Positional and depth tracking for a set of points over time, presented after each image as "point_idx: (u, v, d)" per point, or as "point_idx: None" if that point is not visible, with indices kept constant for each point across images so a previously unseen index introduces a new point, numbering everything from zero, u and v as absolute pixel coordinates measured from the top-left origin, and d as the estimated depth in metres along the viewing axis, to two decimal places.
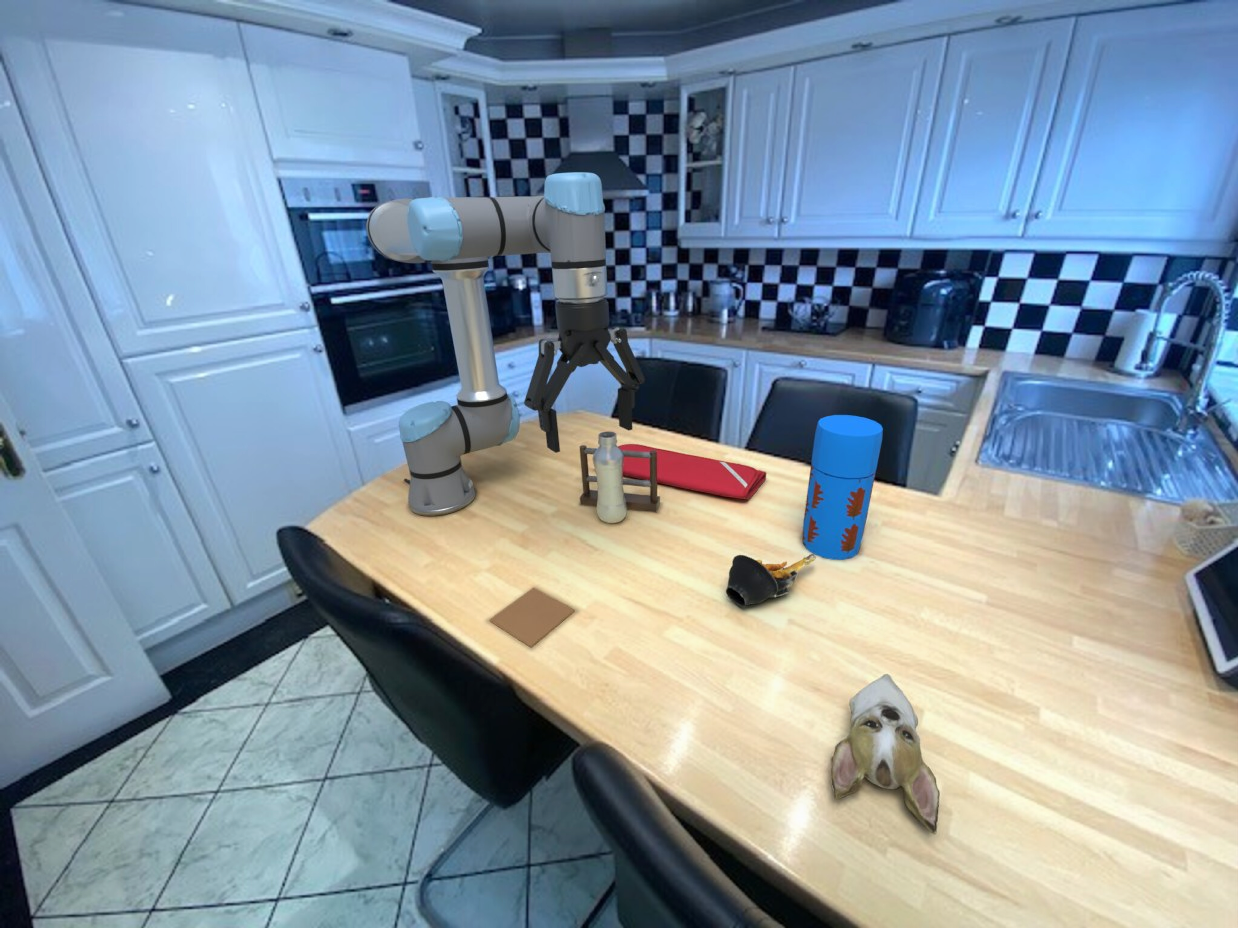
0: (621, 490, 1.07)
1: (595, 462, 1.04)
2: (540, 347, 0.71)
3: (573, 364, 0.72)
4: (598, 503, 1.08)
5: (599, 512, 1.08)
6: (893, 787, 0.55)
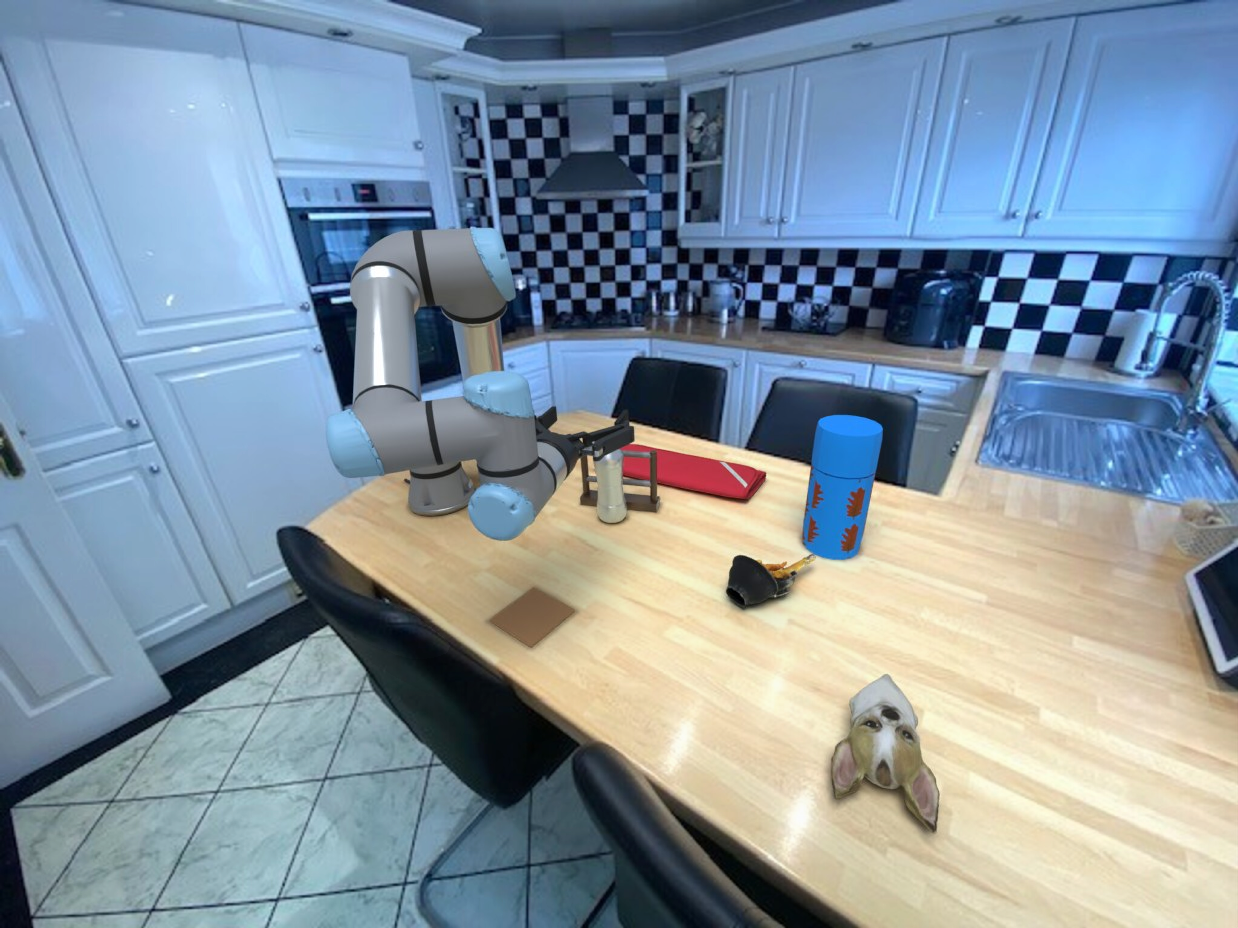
0: (621, 490, 1.07)
1: (595, 462, 1.04)
2: None
3: None
4: (598, 503, 1.08)
5: (599, 512, 1.08)
6: (893, 787, 0.55)
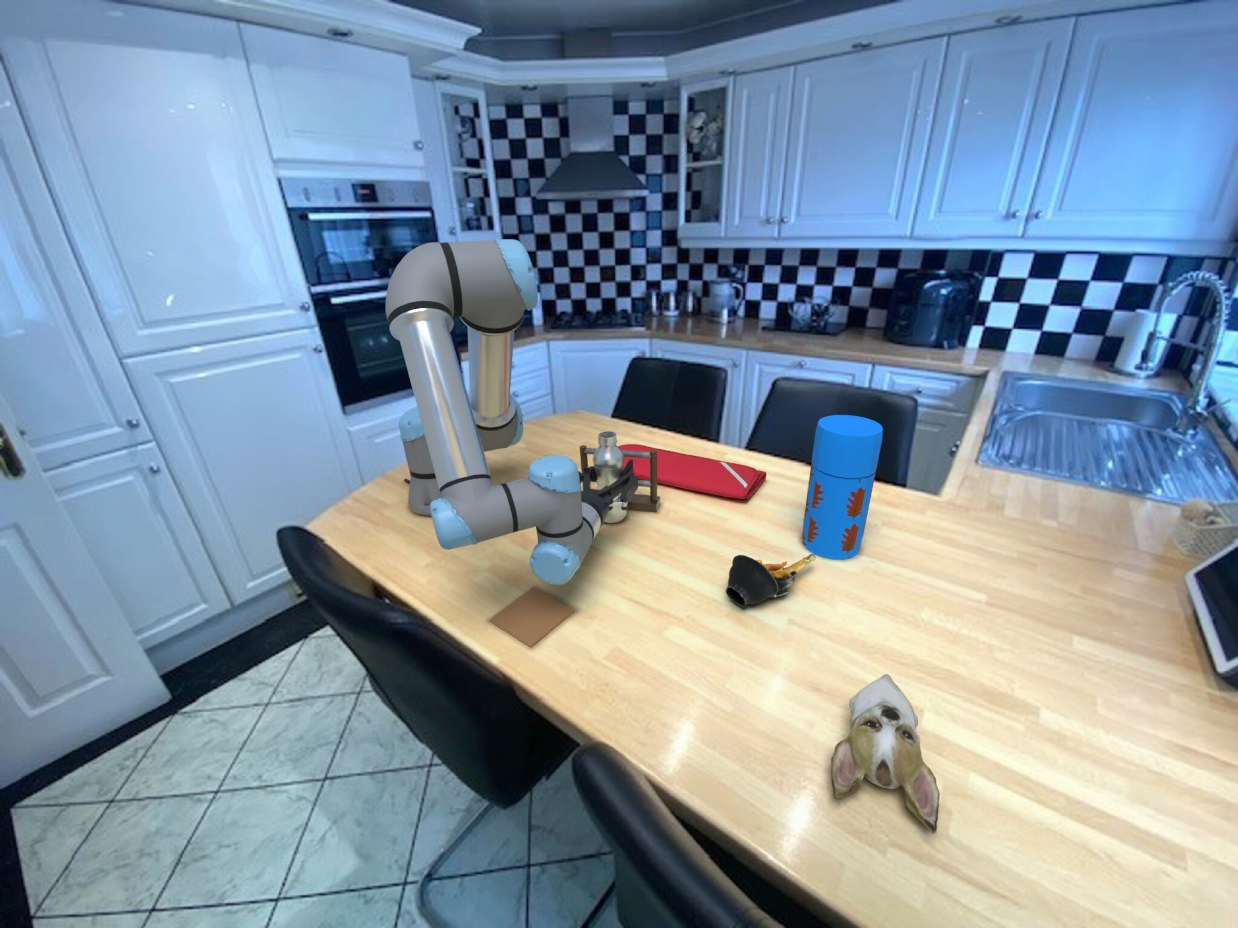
0: None
1: (595, 462, 1.04)
2: None
3: None
4: None
5: None
6: (893, 787, 0.55)
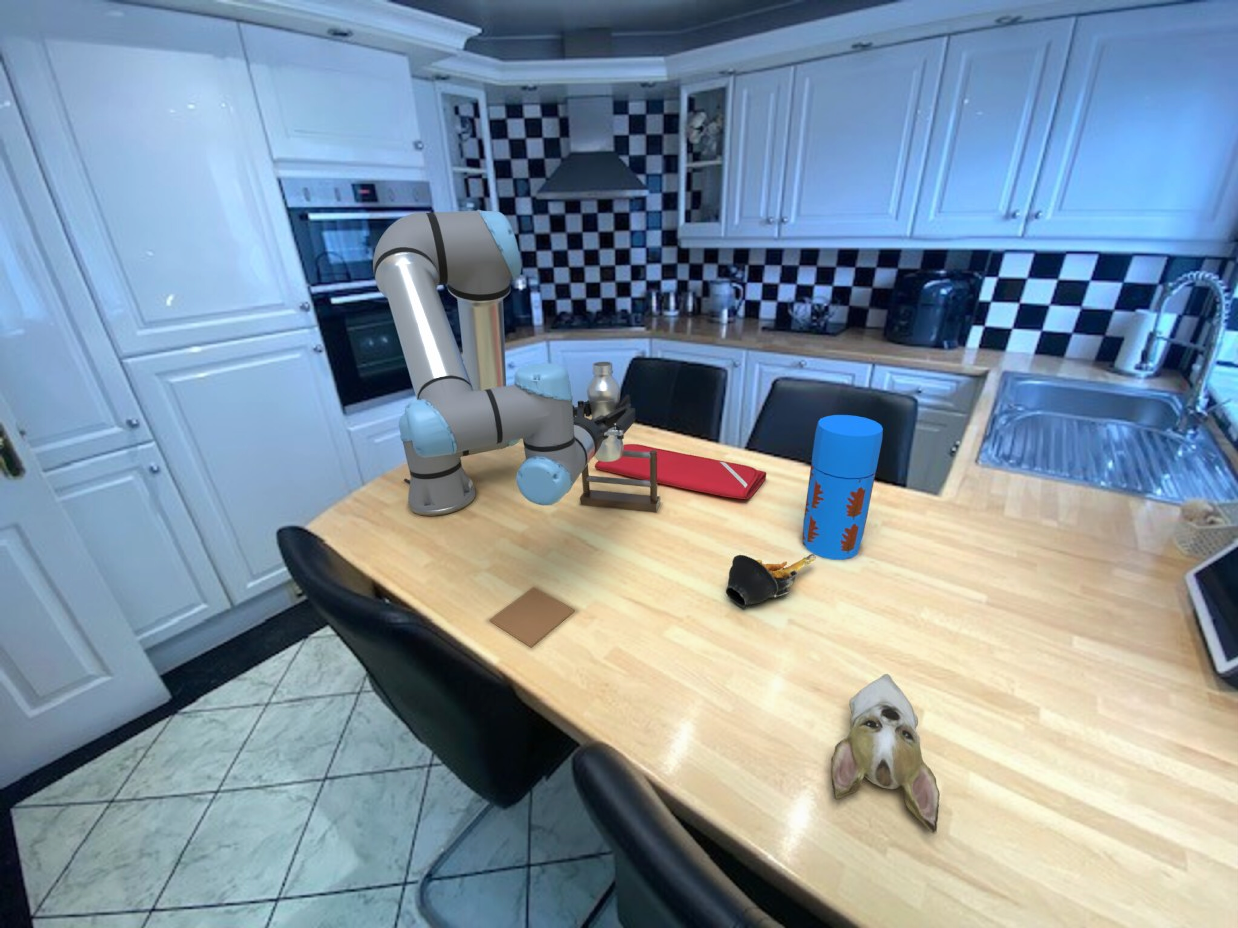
0: None
1: (589, 394, 0.97)
2: None
3: None
4: None
5: None
6: (893, 787, 0.55)
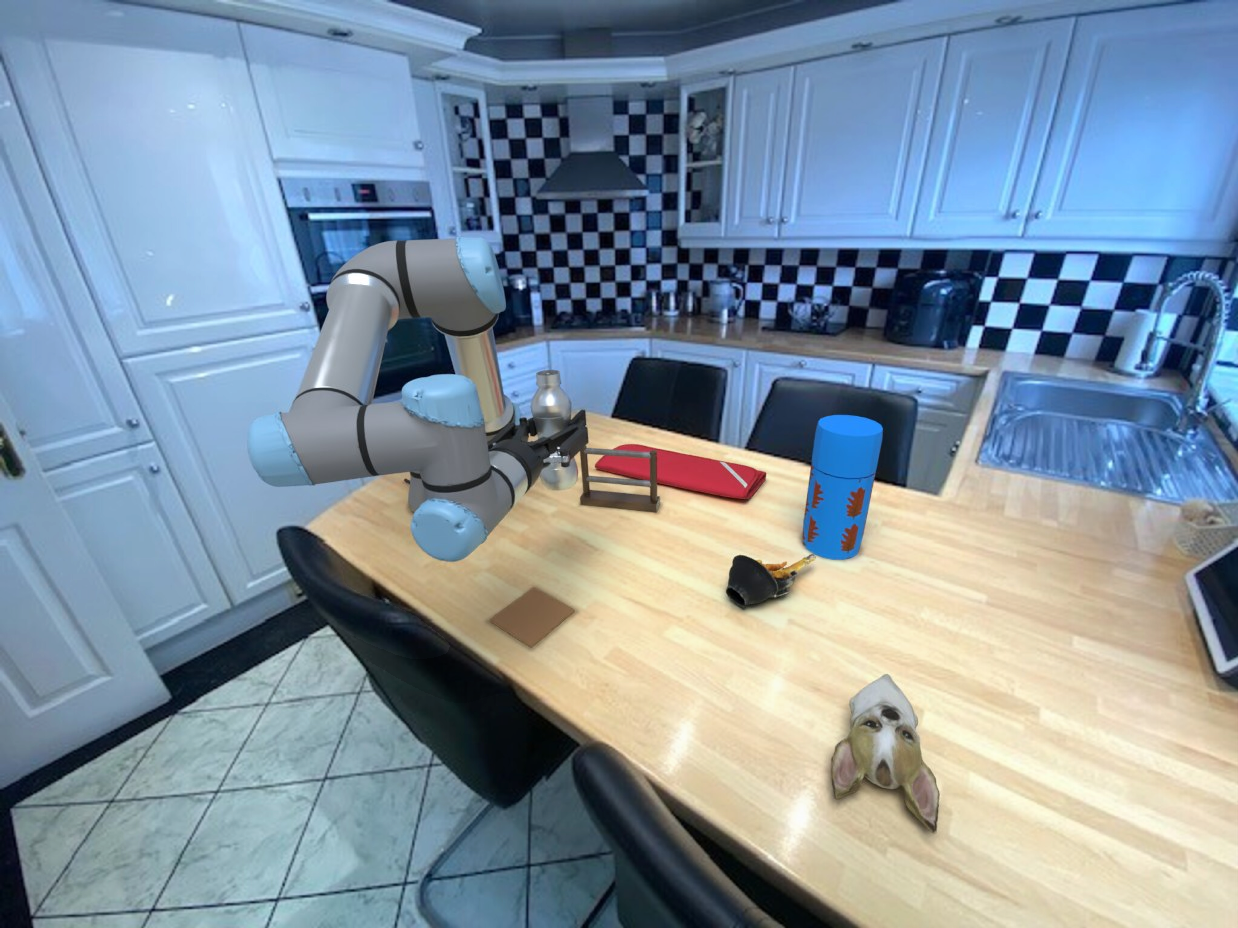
0: None
1: (532, 409, 0.79)
2: None
3: None
4: None
5: (541, 477, 0.84)
6: (893, 787, 0.55)
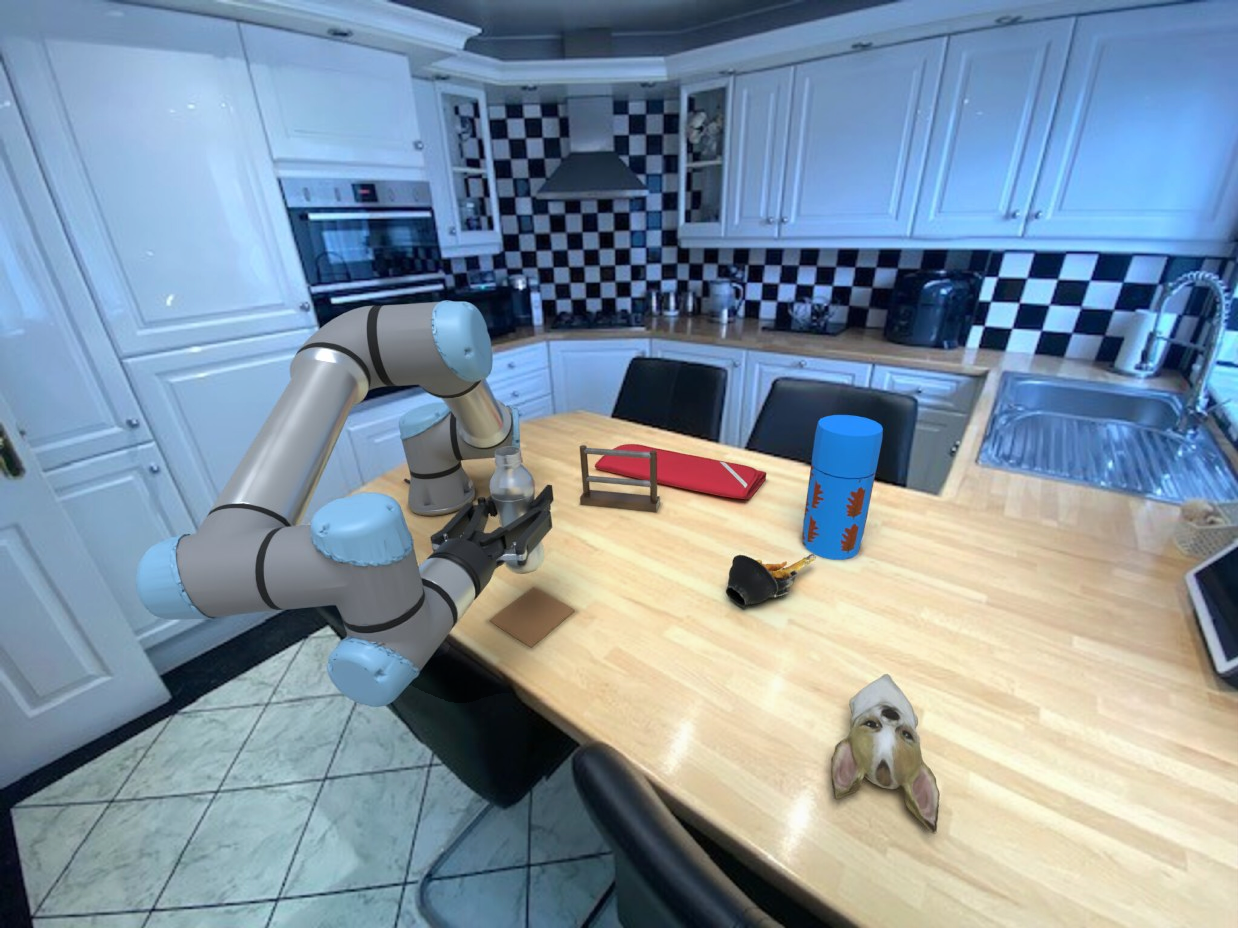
0: None
1: (491, 490, 0.72)
2: None
3: None
4: None
5: None
6: (893, 787, 0.55)
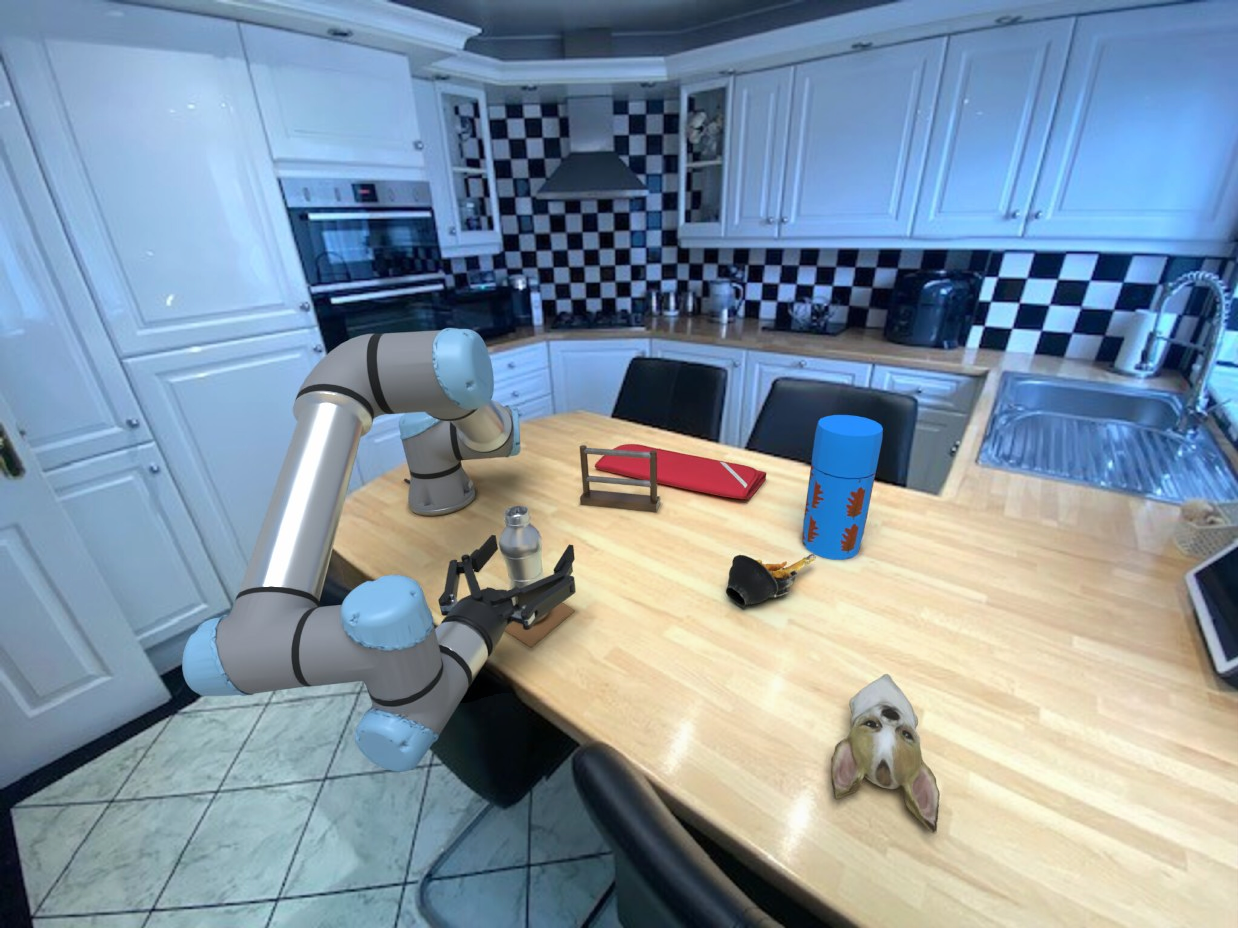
0: None
1: (501, 548, 0.76)
2: (440, 598, 0.70)
3: None
4: None
5: None
6: (893, 787, 0.55)
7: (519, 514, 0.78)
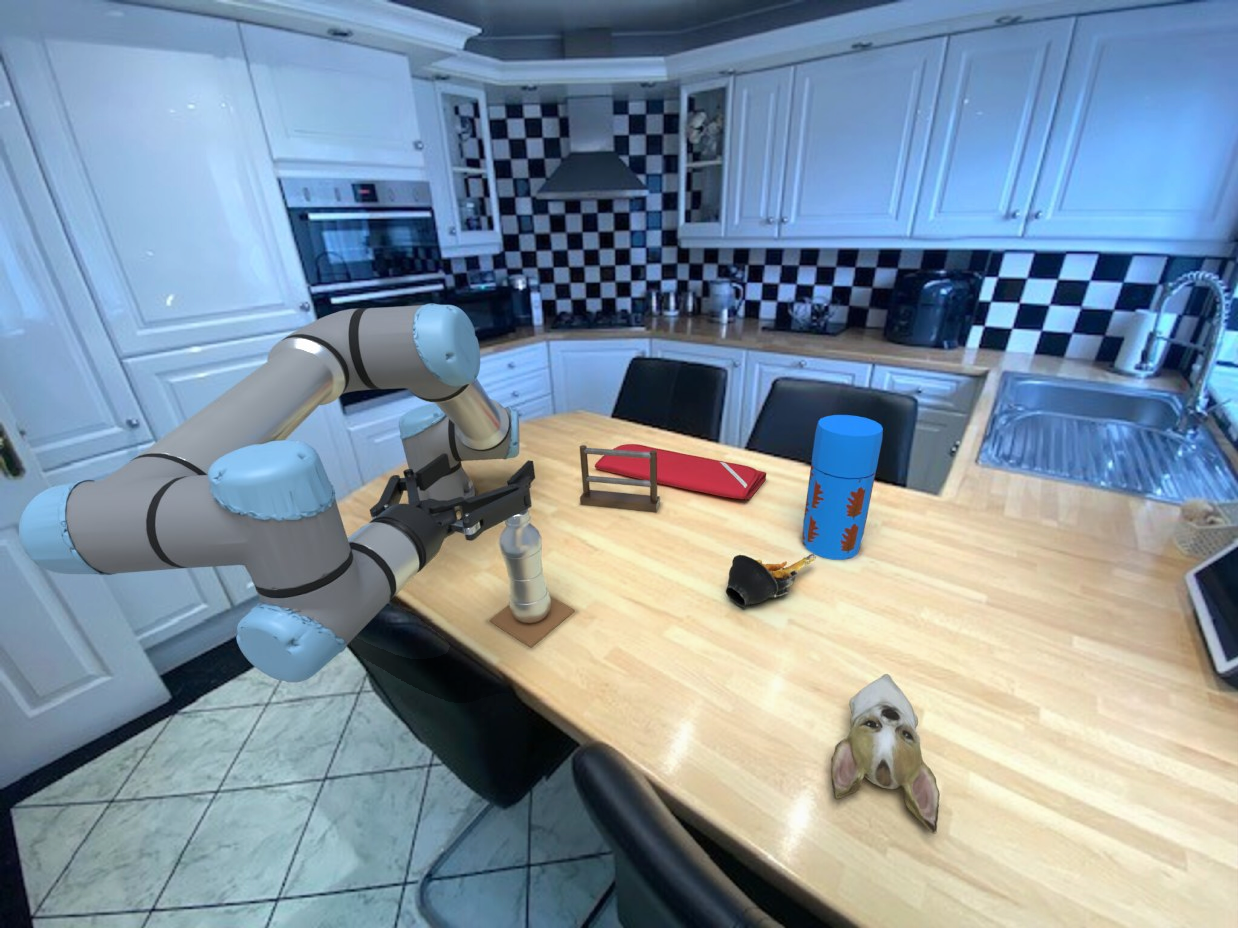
0: (539, 582, 0.80)
1: (501, 548, 0.76)
2: None
3: None
4: (510, 597, 0.81)
5: (512, 609, 0.81)
6: (893, 787, 0.55)
7: (519, 514, 0.78)
